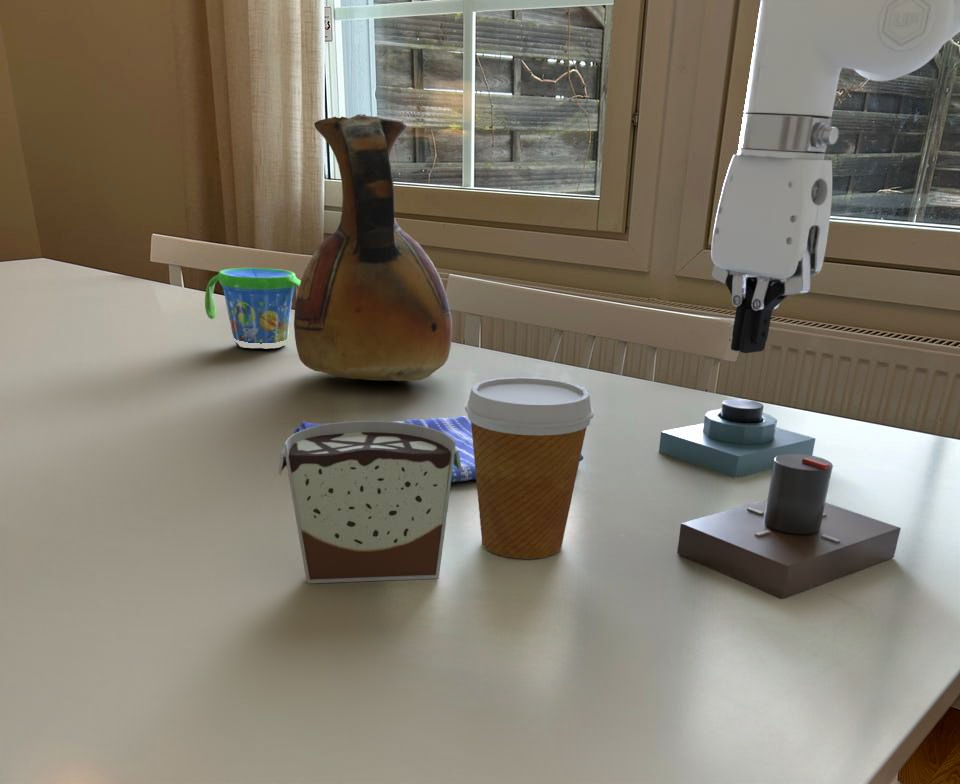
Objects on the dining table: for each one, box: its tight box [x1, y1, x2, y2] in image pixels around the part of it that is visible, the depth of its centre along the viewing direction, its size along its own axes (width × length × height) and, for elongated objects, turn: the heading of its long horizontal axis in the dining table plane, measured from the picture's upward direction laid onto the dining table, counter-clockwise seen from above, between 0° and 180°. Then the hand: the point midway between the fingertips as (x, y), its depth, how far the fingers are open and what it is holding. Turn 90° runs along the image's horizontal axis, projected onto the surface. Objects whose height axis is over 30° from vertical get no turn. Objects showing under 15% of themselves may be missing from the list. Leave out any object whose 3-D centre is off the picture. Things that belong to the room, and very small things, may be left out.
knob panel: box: [676, 499, 902, 599], centre depth 76 cm, size 14×10×3 cm
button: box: [720, 398, 764, 423], centre depth 98 cm, size 4×4×2 cm
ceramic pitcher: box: [293, 113, 453, 382], centre depth 119 cm, size 20×20×30 cm
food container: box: [278, 420, 462, 584], centre depth 70 cm, size 12×6×10 cm, turn 100°
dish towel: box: [293, 415, 584, 483], centre depth 95 cm, size 17×24×3 cm
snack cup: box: [204, 267, 301, 344], centre depth 140 cm, size 16×10×10 cm
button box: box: [658, 408, 816, 479], centre depth 100 cm, size 12×10×4 cm
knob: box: [764, 454, 834, 534], centre depth 74 cm, size 4×4×5 cm
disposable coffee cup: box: [464, 376, 595, 560], centre depth 74 cm, size 10×10×12 cm
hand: (747, 350), depth 96 cm, fingers closed
